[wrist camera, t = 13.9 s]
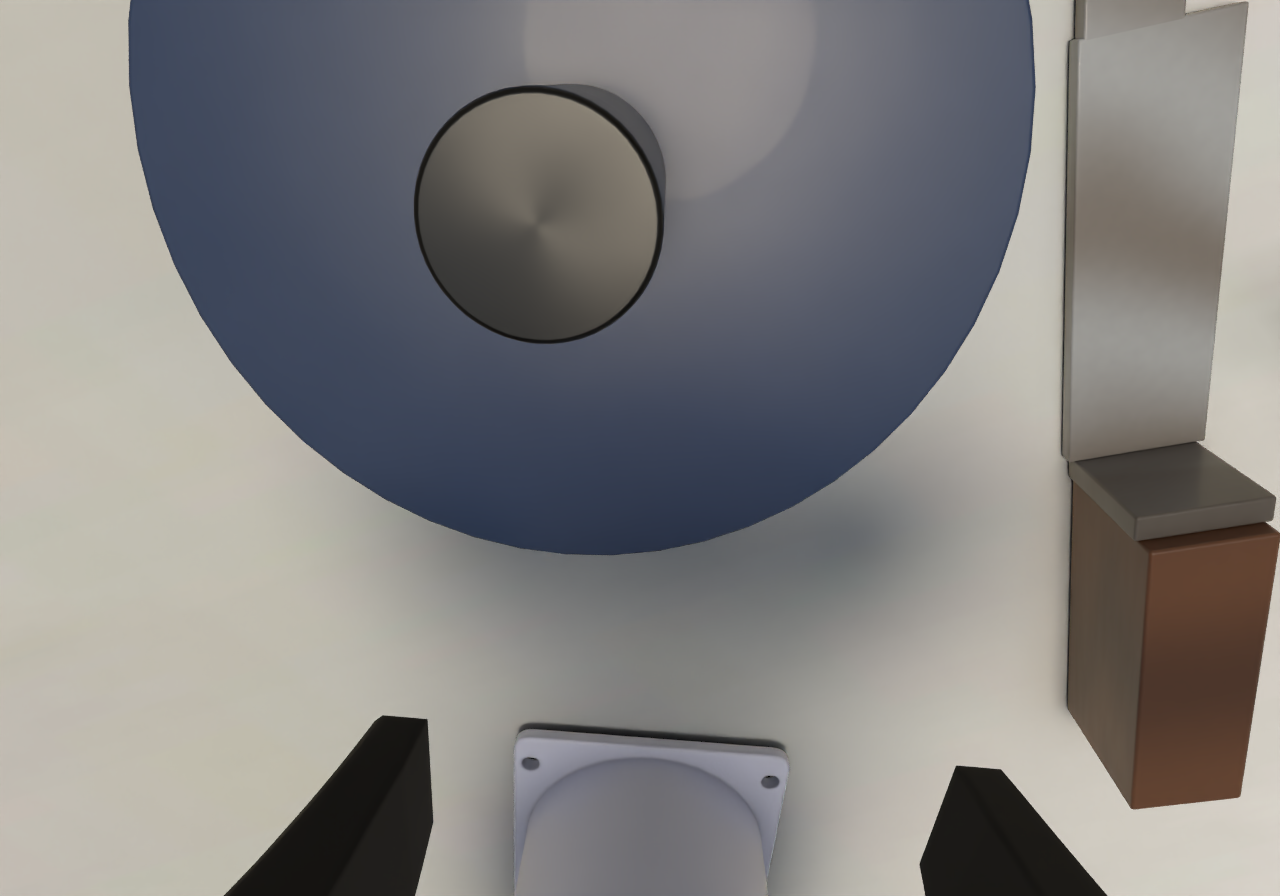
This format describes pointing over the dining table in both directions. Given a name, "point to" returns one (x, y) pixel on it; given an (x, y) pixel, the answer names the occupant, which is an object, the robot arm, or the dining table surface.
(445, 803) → the dining table surface
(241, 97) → the pot lid
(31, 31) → the dining table surface
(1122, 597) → the knife
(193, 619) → the dining table surface
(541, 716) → the dining table surface
